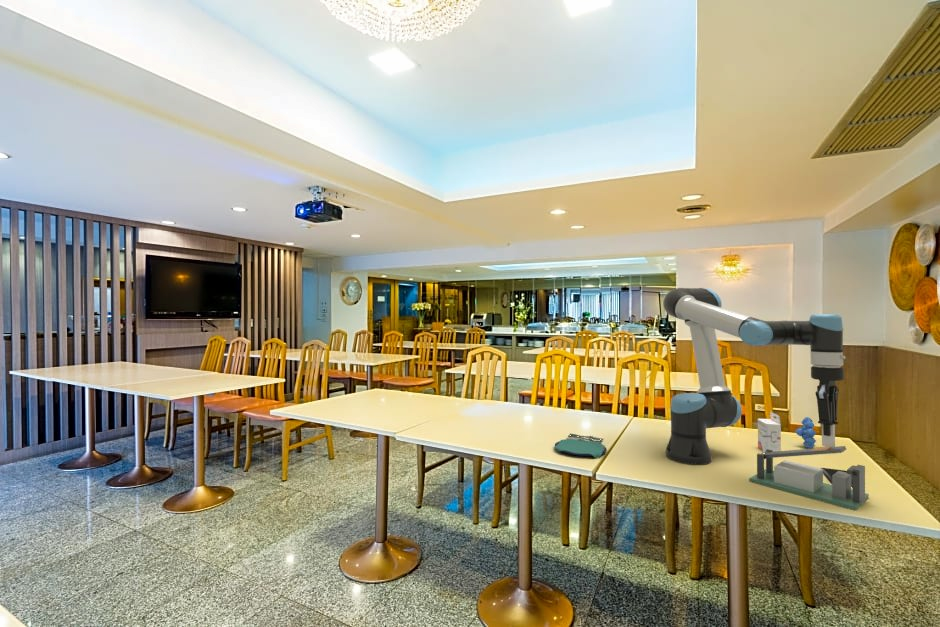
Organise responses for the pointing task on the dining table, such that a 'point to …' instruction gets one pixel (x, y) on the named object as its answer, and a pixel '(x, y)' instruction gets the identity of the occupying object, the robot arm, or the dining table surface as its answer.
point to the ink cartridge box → (769, 433)
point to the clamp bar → (804, 452)
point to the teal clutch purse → (581, 446)
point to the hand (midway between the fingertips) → (828, 446)
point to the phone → (830, 472)
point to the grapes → (807, 432)
